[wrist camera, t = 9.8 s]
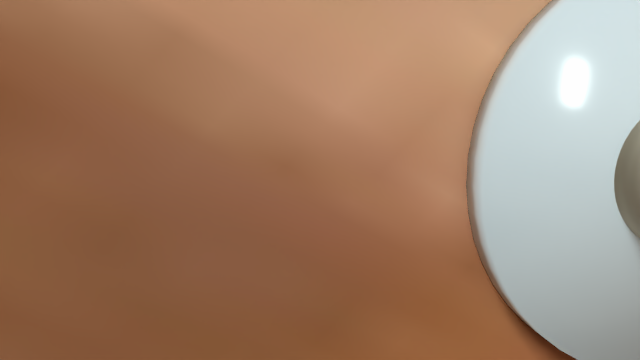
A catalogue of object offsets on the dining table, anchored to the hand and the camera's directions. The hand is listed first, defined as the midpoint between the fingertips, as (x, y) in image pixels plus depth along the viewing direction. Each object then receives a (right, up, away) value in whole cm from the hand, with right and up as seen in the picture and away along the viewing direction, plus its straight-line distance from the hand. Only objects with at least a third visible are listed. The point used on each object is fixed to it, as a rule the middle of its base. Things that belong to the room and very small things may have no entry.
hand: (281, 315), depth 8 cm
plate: (+12, +2, +12) cm, 17 cm away
